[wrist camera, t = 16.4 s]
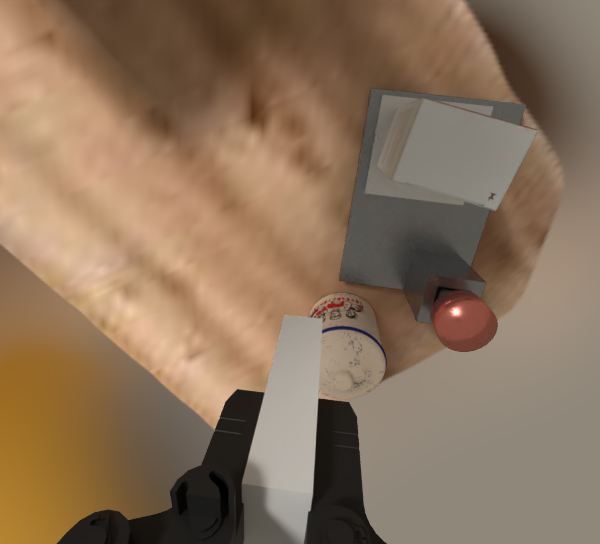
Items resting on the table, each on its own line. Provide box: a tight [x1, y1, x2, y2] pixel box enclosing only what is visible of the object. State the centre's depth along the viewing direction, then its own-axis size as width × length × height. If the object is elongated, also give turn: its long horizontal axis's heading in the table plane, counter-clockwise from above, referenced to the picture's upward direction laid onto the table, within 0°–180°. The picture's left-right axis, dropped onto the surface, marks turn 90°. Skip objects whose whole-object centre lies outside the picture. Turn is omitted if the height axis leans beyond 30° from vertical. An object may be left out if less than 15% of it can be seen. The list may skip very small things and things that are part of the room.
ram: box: [430, 286, 498, 352], centre depth 31 cm, size 5×5×10 cm
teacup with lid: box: [309, 293, 387, 399], centre depth 37 cm, size 12×9×12 cm
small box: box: [377, 97, 538, 211], centre depth 26 cm, size 8×6×10 cm
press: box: [339, 88, 526, 324], centre depth 31 cm, size 20×14×8 cm
